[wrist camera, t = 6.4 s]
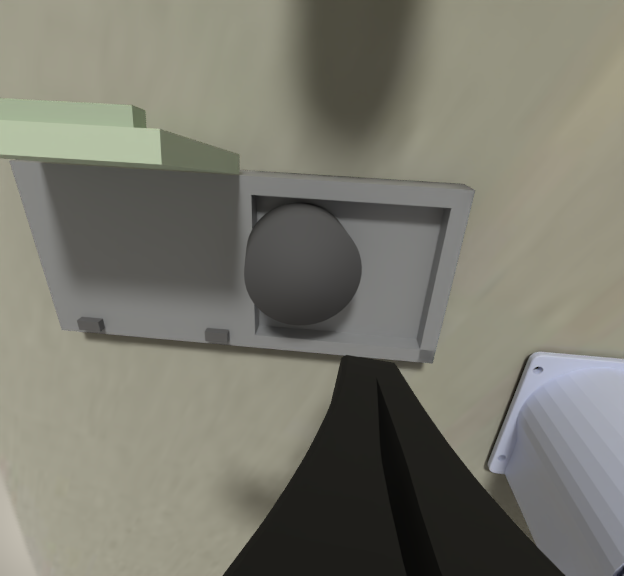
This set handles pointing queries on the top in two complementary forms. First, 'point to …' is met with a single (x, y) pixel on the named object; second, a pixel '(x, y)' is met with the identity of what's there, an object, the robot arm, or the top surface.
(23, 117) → the cover
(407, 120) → the top surface
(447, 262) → the grey ball tray
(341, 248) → the dark grey pebble
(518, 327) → the top surface
